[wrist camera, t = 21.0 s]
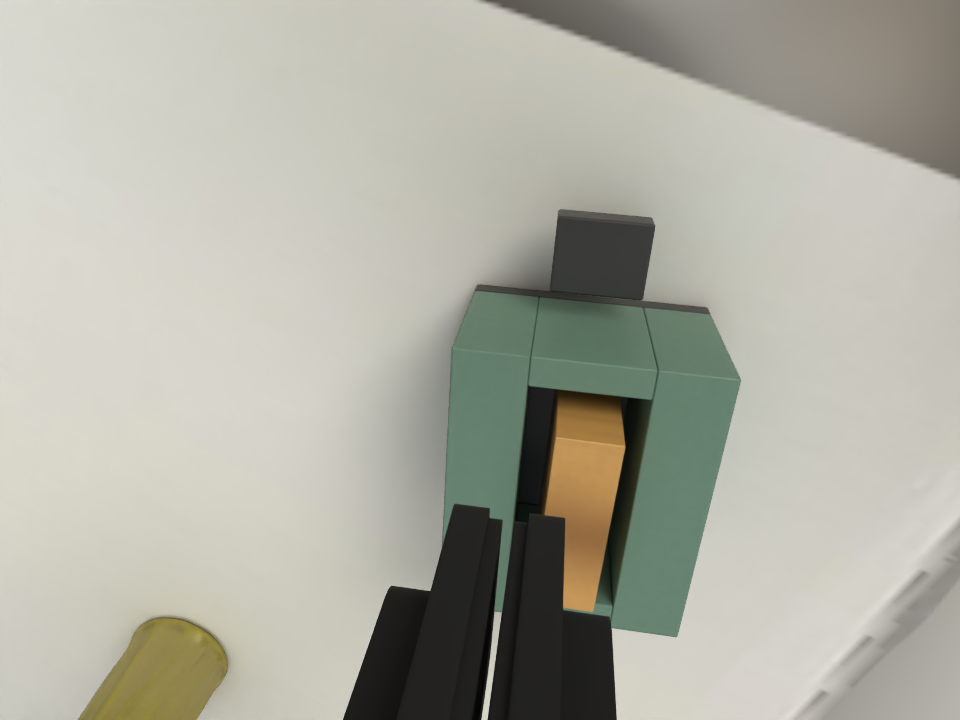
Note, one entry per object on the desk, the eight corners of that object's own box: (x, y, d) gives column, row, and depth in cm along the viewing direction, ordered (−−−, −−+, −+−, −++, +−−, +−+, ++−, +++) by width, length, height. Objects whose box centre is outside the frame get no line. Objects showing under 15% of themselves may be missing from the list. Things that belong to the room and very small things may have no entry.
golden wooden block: (560, 347, 31) (555, 437, 24) (615, 354, 31) (625, 446, 24) (540, 489, 34) (531, 603, 27) (590, 496, 34) (593, 613, 27)
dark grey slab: (558, 208, 27) (557, 215, 26) (652, 217, 27) (655, 224, 26) (550, 282, 28) (549, 291, 27) (640, 291, 28) (642, 301, 27)
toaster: (477, 283, 31) (451, 347, 25) (707, 307, 30) (741, 379, 24) (463, 504, 36) (438, 604, 30) (659, 530, 35) (677, 638, 29)
